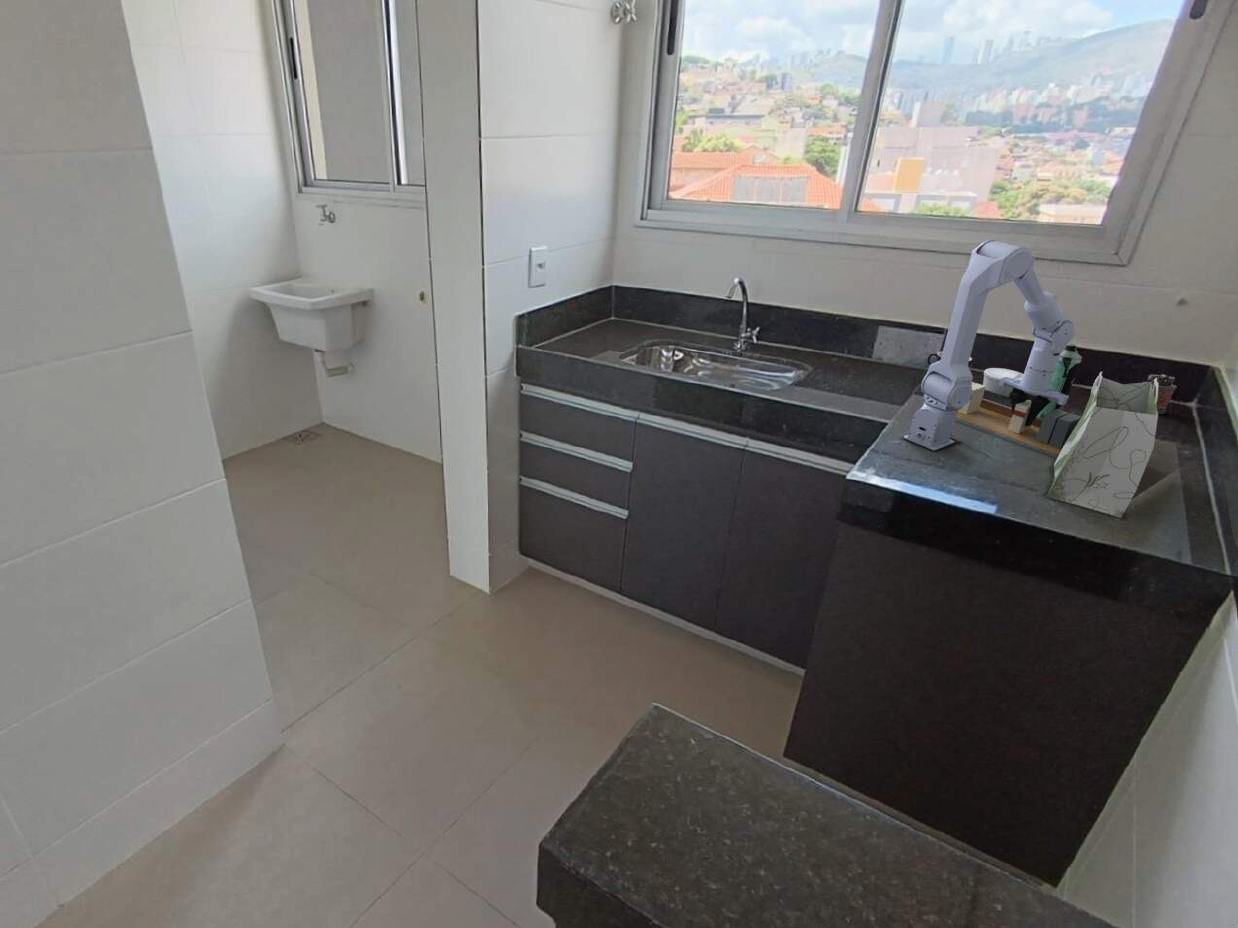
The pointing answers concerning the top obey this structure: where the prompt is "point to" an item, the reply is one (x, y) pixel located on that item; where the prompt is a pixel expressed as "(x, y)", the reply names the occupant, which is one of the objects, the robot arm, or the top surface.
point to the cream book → (1020, 417)
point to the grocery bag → (1108, 447)
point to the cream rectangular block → (974, 399)
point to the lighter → (1162, 391)
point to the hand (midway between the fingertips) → (1021, 422)
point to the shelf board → (1005, 424)
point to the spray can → (1063, 376)
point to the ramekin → (994, 377)
